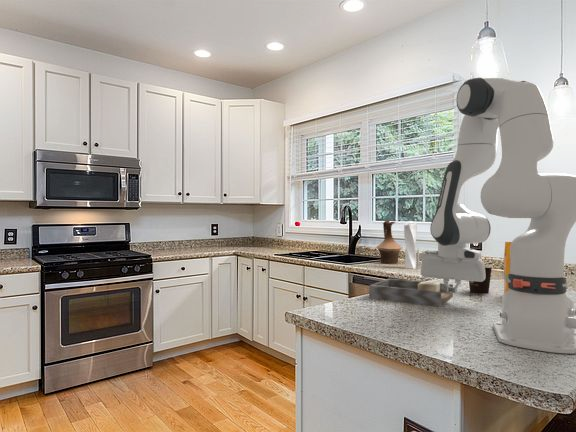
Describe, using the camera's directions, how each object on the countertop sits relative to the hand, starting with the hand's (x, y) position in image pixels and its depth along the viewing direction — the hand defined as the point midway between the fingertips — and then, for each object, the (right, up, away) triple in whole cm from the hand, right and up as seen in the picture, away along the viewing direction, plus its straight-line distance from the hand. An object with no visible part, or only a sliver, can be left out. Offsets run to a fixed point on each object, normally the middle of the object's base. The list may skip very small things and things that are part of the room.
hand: (452, 292), depth 129 cm
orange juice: (+27, -4, +7) cm, 28 cm away
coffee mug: (+19, -4, +20) cm, 27 cm away
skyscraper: (+16, -5, +93) cm, 94 cm away
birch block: (-6, -2, +4) cm, 8 cm away
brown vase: (+11, -5, +121) cm, 121 cm away
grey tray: (-11, -3, +7) cm, 14 cm away
